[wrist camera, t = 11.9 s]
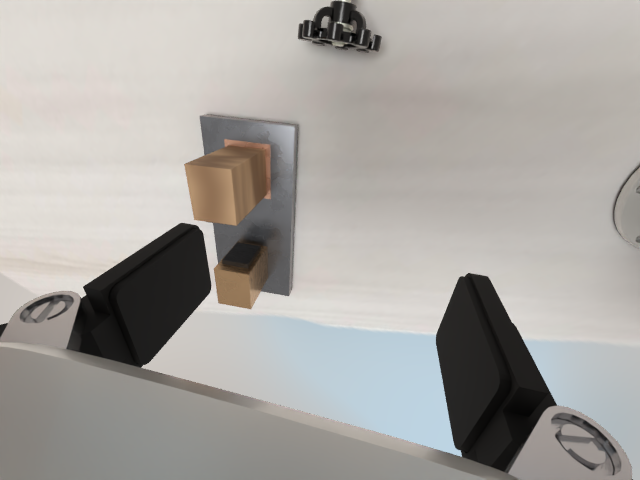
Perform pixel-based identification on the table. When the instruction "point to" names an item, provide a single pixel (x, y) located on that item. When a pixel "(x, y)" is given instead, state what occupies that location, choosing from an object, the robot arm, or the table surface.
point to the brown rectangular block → (227, 184)
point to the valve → (339, 28)
